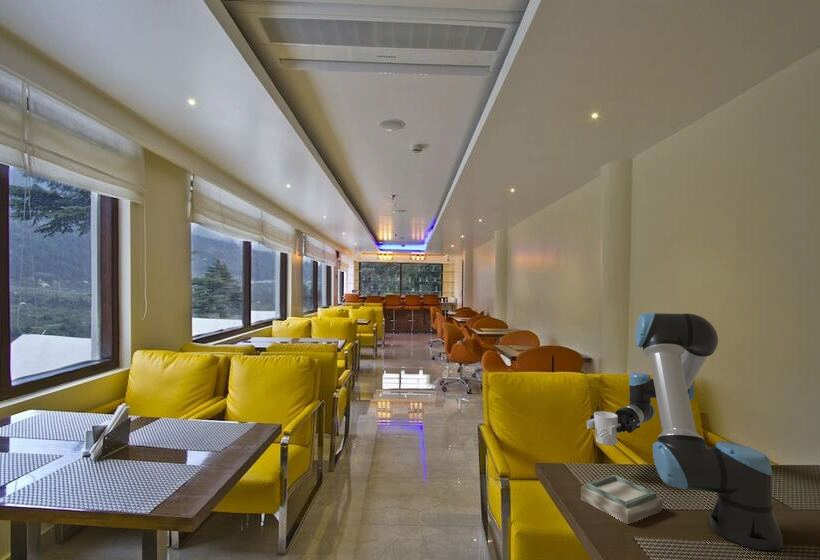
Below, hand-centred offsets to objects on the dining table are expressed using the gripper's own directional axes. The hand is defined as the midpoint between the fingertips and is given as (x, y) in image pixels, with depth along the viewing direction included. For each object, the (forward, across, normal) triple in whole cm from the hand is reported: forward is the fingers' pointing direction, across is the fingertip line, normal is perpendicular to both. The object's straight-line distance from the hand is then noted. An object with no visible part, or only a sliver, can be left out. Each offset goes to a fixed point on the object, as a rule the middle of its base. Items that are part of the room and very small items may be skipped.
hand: (599, 428), depth 142 cm
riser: (+13, -13, -18) cm, 25 cm away
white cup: (-5, 0, -6) cm, 8 cm away
